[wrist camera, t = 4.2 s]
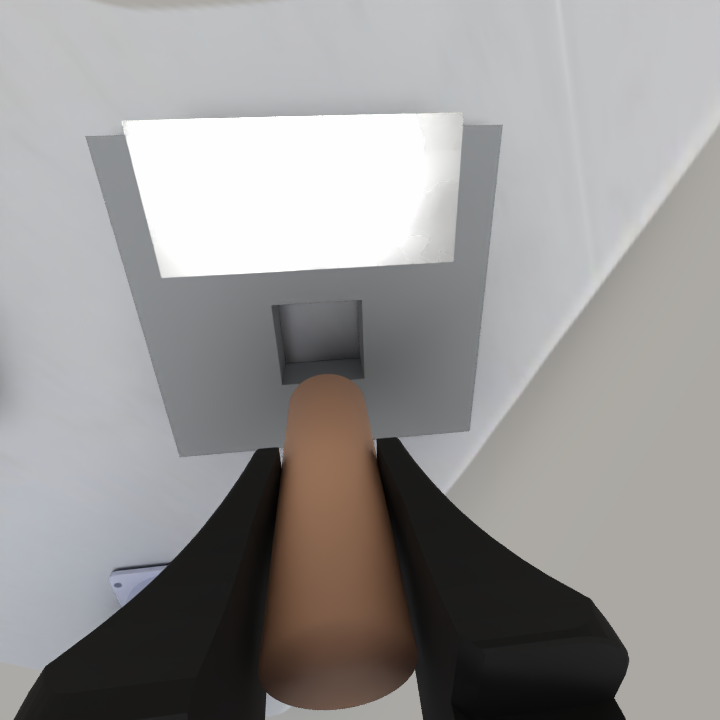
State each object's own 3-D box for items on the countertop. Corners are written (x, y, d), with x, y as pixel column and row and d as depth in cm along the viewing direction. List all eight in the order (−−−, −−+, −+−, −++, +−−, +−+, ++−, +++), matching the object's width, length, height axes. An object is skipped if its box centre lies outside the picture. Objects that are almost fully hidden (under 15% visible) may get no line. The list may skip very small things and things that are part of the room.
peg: (366, 434, 16) (417, 697, 8) (294, 441, 16) (271, 719, 8) (363, 370, 15) (419, 609, 7) (284, 377, 15) (244, 632, 7)
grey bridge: (424, 243, 17) (453, 261, 14) (194, 255, 17) (161, 278, 13) (429, 126, 15) (463, 112, 12) (169, 134, 15) (121, 121, 11)
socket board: (455, 407, 24) (469, 431, 22) (193, 429, 23) (179, 457, 21) (479, 130, 18) (502, 124, 16) (116, 141, 17) (85, 136, 14)
